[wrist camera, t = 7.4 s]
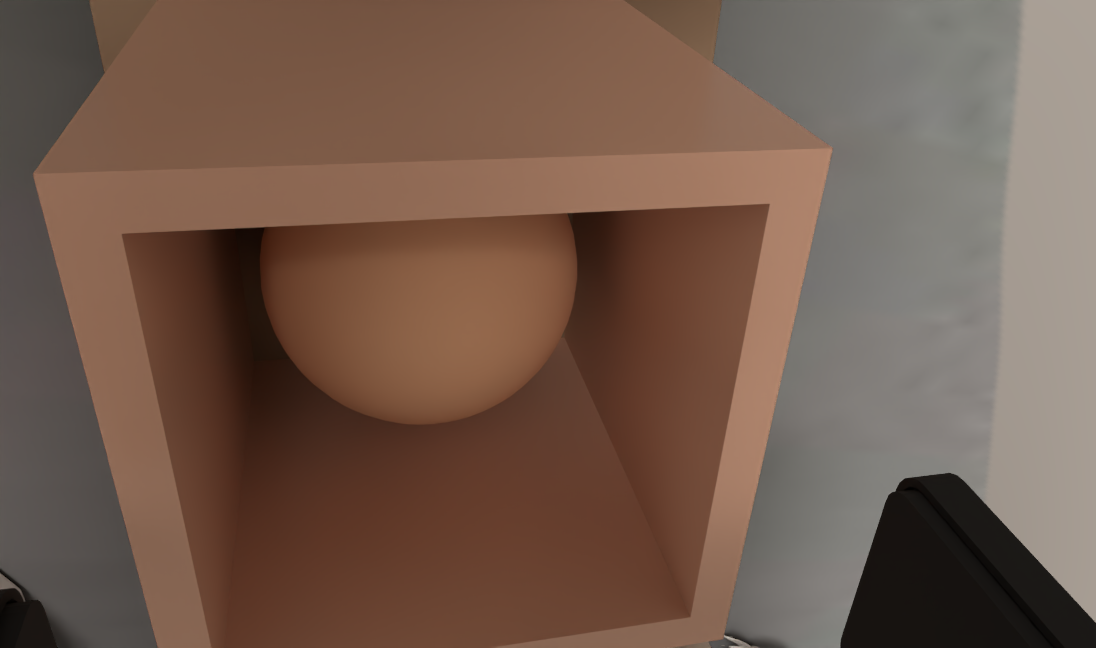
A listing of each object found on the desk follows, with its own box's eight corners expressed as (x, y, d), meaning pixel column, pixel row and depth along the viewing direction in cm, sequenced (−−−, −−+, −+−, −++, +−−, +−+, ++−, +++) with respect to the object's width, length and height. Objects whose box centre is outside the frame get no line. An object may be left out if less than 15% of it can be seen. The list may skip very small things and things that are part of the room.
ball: (250, 72, 17) (224, 190, 12) (547, 69, 19) (631, 175, 14) (282, 330, 21) (272, 508, 16) (535, 313, 22) (600, 472, 17)
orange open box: (160, -6, 16) (32, 174, 9) (620, -2, 18) (832, 148, 11) (226, 388, 21) (178, 725, 13) (589, 358, 23) (722, 638, 15)
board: (-55, -802, 12) (-121, -906, 10) (785, -652, 15) (852, -714, 13) (231, 641, 27) (225, 704, 25) (622, 585, 30) (642, 638, 28)
